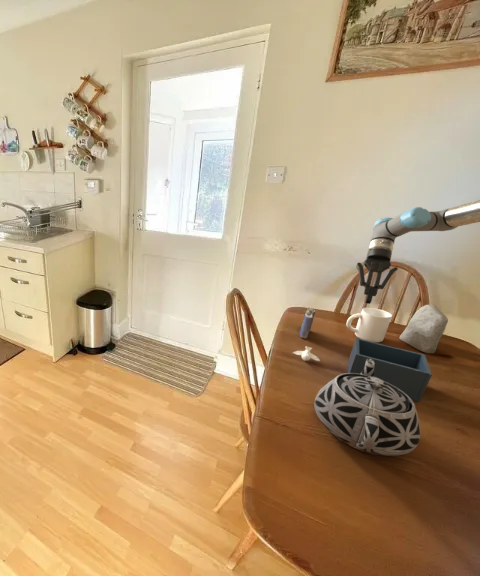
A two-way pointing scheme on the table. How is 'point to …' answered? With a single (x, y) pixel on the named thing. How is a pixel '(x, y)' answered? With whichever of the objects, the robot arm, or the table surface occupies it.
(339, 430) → the teapot
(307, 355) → the toy bird
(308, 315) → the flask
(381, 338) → the mug
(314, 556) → the table surface
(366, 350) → the box
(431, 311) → the decorative stone
